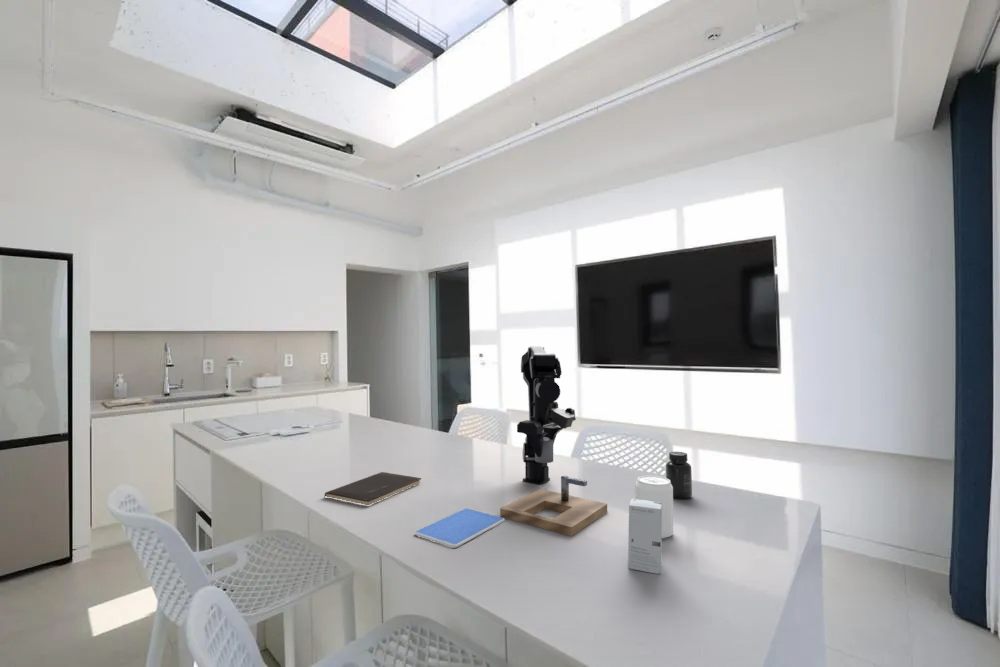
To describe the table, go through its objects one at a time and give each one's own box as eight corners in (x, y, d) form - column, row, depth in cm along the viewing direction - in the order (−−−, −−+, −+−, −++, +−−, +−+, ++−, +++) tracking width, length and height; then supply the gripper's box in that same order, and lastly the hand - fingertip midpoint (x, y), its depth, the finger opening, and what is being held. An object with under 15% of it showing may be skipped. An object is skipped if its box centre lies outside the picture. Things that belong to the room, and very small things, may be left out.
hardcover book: (421, 485, 141) (421, 478, 141) (368, 509, 121) (368, 500, 121) (380, 478, 148) (380, 471, 148) (324, 500, 128) (324, 491, 128)
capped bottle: (531, 461, 127) (531, 438, 127) (541, 457, 131) (541, 435, 131) (547, 463, 124) (547, 440, 124) (556, 460, 128) (556, 437, 128)
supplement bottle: (687, 492, 133) (687, 450, 134) (695, 500, 127) (695, 456, 127) (663, 491, 134) (663, 450, 134) (669, 499, 127) (669, 455, 128)
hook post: (559, 500, 120) (559, 477, 121) (563, 498, 122) (563, 475, 122) (584, 505, 116) (584, 482, 116) (587, 503, 118) (587, 480, 118)
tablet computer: (466, 511, 119) (466, 506, 119) (506, 522, 112) (506, 517, 112) (412, 537, 103) (412, 531, 103) (455, 552, 96) (455, 545, 96)
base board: (500, 516, 115) (500, 508, 115) (540, 496, 130) (540, 489, 130) (571, 536, 103) (571, 527, 103) (607, 511, 118) (607, 503, 118)
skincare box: (627, 569, 88) (627, 505, 88) (630, 559, 92) (629, 497, 92) (661, 575, 85) (661, 509, 86) (662, 564, 90) (662, 501, 90)
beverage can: (654, 543, 99) (654, 487, 99) (628, 529, 106) (627, 477, 107) (681, 536, 103) (680, 482, 103) (653, 523, 110) (653, 473, 110)
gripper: (552, 403, 116) (552, 466, 115) (585, 397, 131) (585, 452, 130) (515, 400, 122) (515, 460, 122) (551, 394, 137) (551, 447, 137)
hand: (544, 455), depth 127 cm, fingers closed on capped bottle, 5 cm apart
